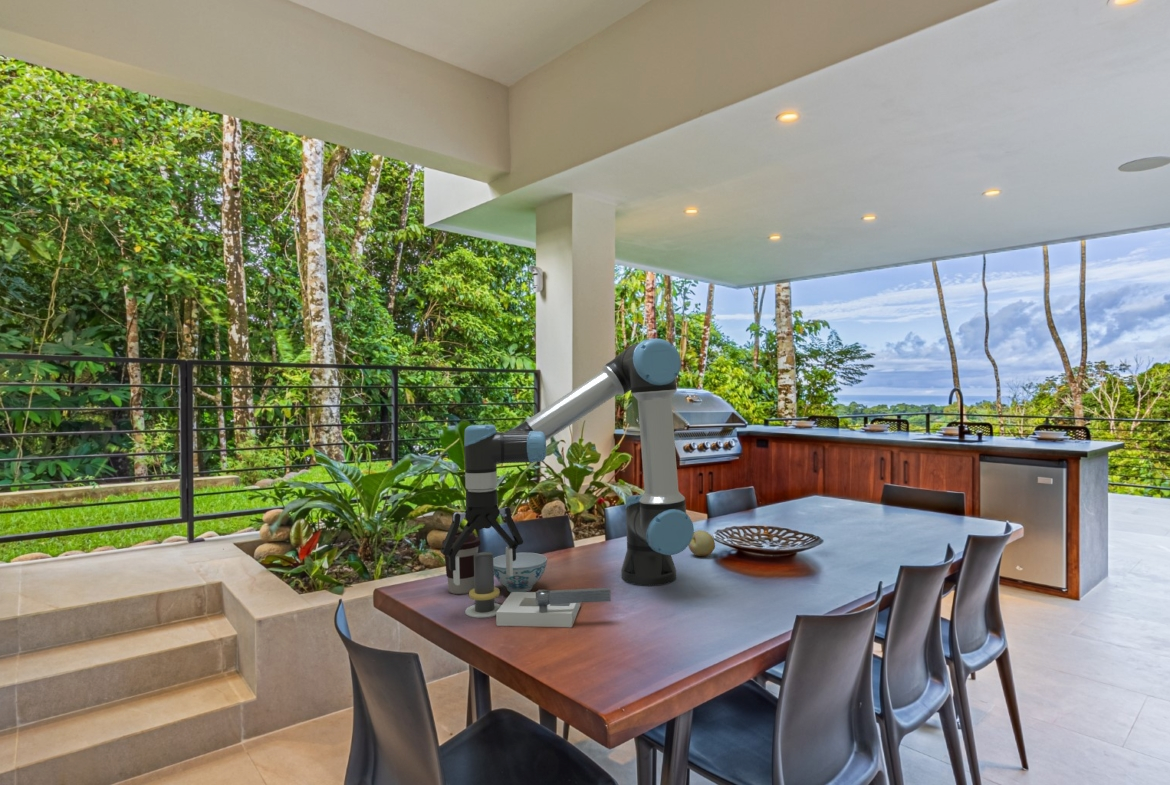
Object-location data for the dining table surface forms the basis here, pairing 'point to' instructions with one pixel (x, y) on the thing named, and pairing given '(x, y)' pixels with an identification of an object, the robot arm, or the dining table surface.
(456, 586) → the coffee cup
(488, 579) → the plug
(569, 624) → the socket block
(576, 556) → the dining table surface
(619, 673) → the dining table surface
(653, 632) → the dining table surface
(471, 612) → the mat
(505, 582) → the chinaware
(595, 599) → the grey lever handle
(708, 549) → the fruit
